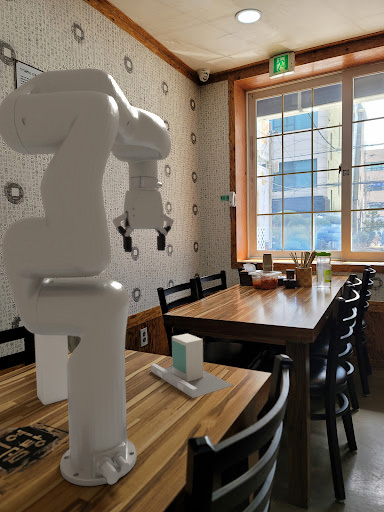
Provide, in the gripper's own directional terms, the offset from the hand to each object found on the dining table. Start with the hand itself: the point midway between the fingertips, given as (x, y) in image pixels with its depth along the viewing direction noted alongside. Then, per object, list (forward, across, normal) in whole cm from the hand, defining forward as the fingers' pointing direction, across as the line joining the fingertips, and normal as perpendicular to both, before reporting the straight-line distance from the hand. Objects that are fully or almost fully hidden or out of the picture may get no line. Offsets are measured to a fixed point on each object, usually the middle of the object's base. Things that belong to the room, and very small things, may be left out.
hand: (145, 251), depth 98 cm
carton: (+33, -8, +8) cm, 35 cm away
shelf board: (+34, -7, +10) cm, 36 cm away
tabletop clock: (+34, +9, -17) cm, 40 cm away
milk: (+34, +24, -3) cm, 42 cm away
